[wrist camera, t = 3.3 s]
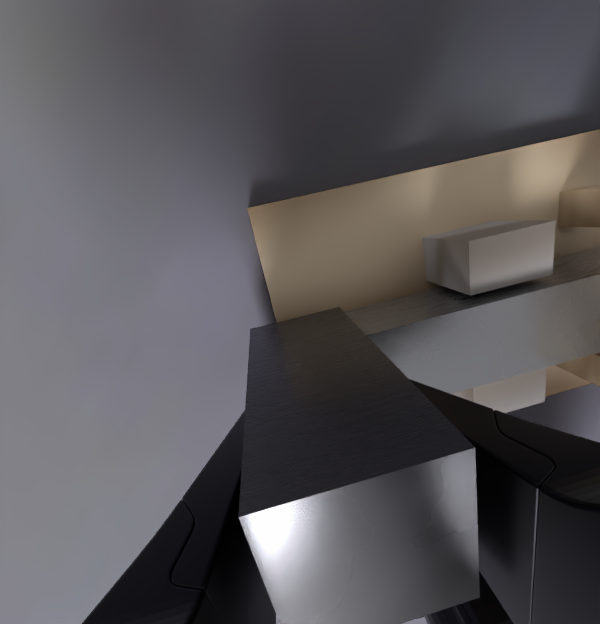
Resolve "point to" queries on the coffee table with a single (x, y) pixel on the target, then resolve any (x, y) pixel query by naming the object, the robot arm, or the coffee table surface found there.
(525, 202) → the rail
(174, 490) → the coffee table surface
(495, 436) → the robot arm
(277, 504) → the grey metal bar
